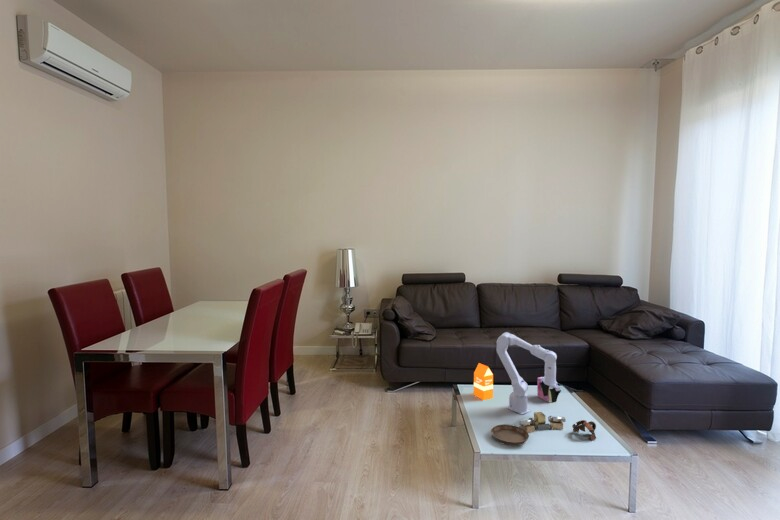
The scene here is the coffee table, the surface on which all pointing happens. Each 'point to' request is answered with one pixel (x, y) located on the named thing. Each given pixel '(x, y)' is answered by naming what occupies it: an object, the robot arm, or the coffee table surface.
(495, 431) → the plant saucer
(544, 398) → the box
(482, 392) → the orange juice
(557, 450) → the coffee table surface
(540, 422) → the block
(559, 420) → the shaft
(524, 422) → the shaft
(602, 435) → the coffee table surface
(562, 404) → the coffee table surface
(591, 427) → the pottery mug
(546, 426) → the cradle
